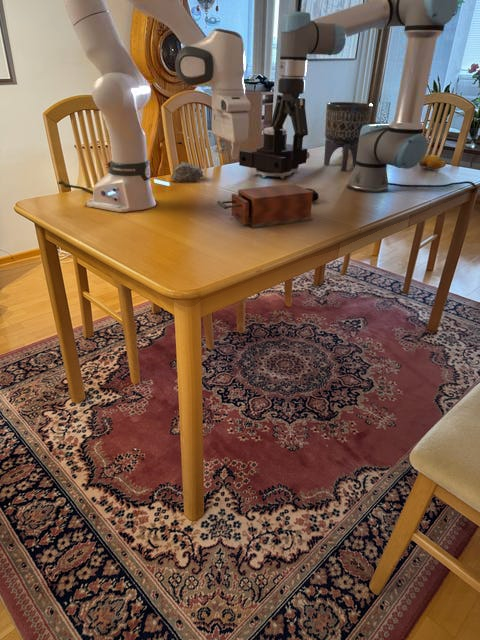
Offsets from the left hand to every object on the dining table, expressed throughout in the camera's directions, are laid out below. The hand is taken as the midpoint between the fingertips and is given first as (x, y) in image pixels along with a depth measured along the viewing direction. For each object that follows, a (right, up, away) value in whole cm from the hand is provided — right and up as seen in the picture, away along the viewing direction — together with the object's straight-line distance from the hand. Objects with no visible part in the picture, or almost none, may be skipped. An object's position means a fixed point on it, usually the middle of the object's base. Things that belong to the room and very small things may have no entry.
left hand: (228, 156), depth 127 cm
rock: (-17, +10, +55) cm, 59 cm away
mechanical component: (+21, +17, +69) cm, 75 cm away
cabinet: (+14, -14, +14) cm, 25 cm away
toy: (+92, +25, +85) cm, 128 cm away
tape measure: (+27, -5, +31) cm, 41 cm away
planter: (+50, +25, +83) cm, 101 cm away
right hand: (+17, +4, +12) cm, 21 cm away
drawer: (+8, -15, +12) cm, 21 cm away
